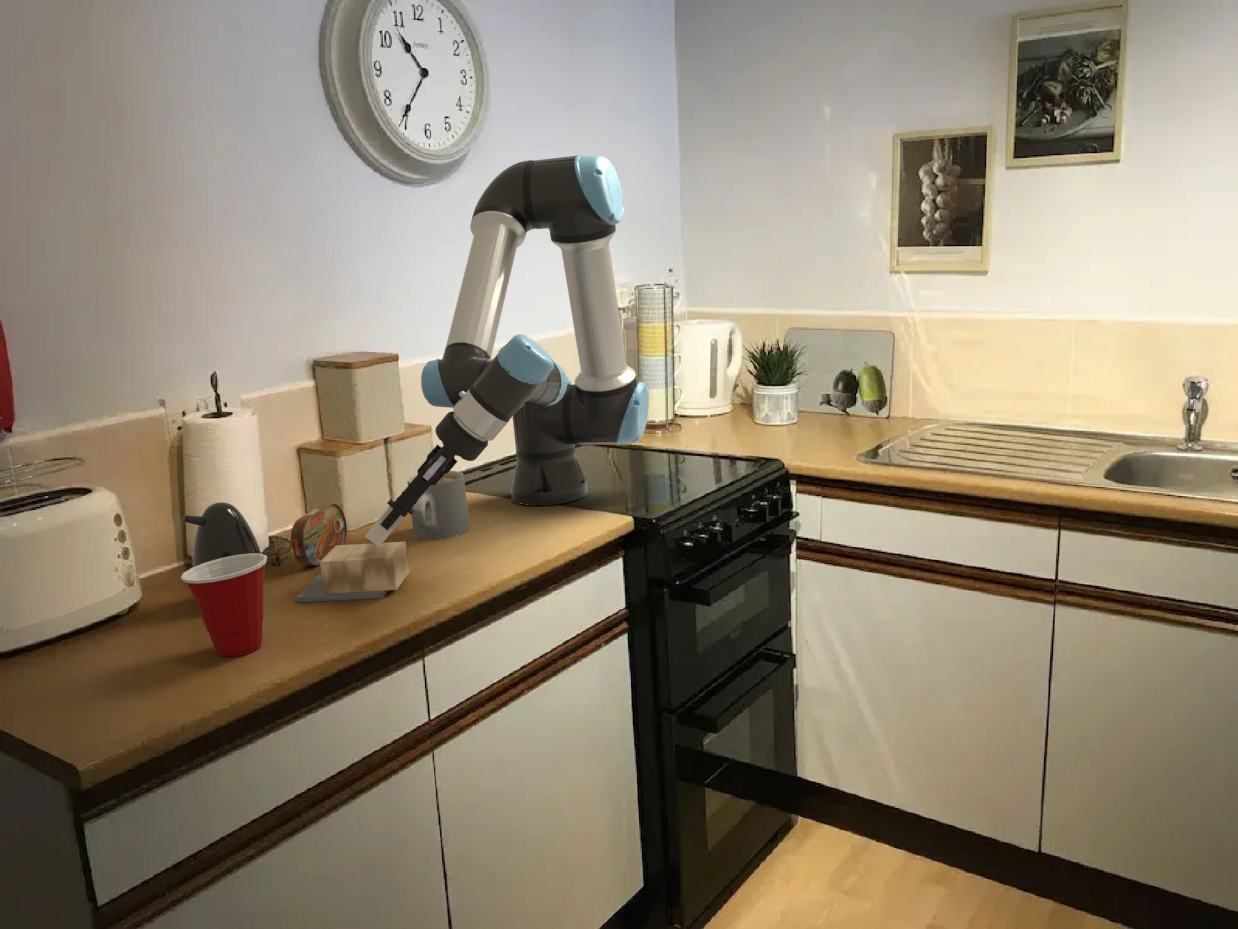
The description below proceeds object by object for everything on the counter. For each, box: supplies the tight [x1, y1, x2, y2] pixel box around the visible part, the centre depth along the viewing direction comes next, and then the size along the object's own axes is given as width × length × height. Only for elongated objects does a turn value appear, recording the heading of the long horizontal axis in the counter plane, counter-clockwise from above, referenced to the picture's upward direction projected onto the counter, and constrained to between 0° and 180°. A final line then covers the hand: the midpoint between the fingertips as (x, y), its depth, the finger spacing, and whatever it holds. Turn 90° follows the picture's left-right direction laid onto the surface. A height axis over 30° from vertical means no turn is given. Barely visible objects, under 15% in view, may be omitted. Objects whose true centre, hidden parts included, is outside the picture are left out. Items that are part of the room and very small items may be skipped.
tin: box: [290, 503, 348, 567], centre depth 174 cm, size 15×3×8 cm, turn 168°
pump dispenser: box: [182, 501, 266, 571], centre depth 156 cm, size 10×10×15 cm
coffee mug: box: [407, 470, 470, 540], centre depth 183 cm, size 13×10×10 cm
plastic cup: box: [180, 553, 268, 658], centre depth 136 cm, size 11×11×12 cm
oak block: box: [319, 541, 410, 594], centre depth 157 cm, size 5×8×11 cm
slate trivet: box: [296, 574, 389, 603], centre depth 158 cm, size 13×10×1 cm
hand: (372, 540), depth 156 cm, fingers closed
